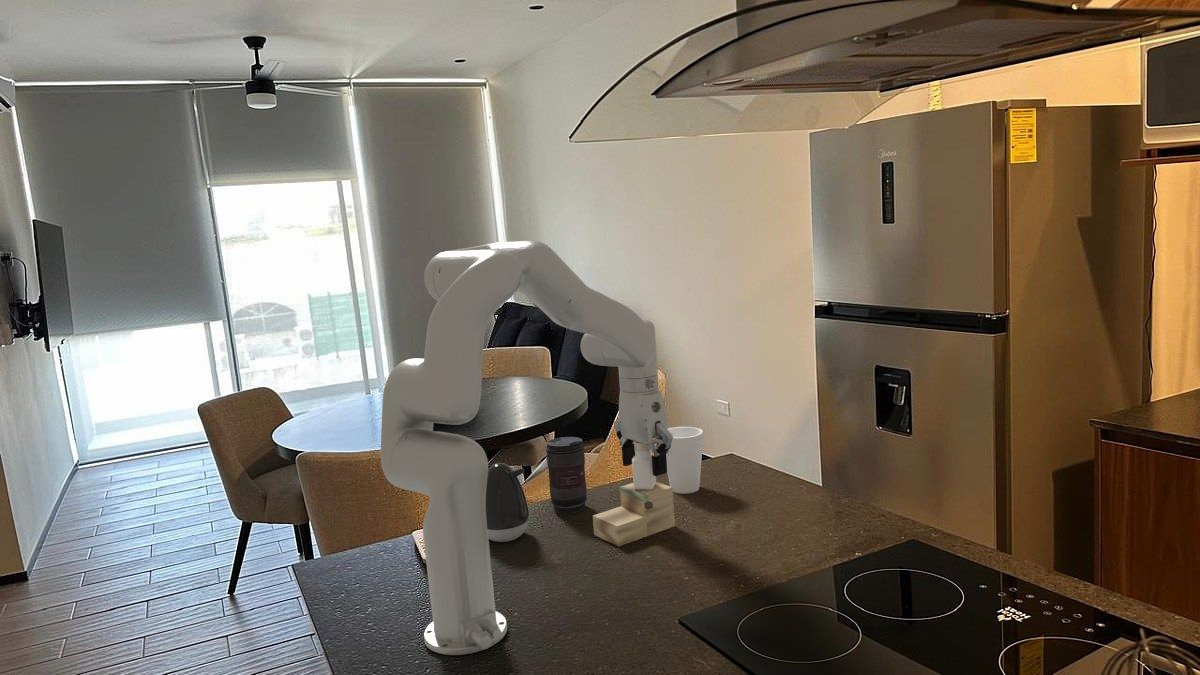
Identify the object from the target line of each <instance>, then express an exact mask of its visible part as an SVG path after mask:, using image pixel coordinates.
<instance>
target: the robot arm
mask: <svg viewBox="0 0 1200 675" xmlns="http://www.w3.org/2000/svg"><path fill="white" fill-rule="evenodd" d="M423 276H424V277H423V279H424V286H425V287H426V288H425V289H426V290H427V293H428V294H429V295H430V296H431V297H432V298H433V299H434V300H435V301H437V302H436V304H435V305H434V307H433V309H432V311H431V313H430V316H429V319H428V323H427V328H426V338H425V346H424V356H423V358H422V357H421V358H420V357H418V358H416V357H414V358H409V359H405V360H403V361H401V362H399V363H397V365H396V366H395V367H393V369H392V370H391V371H390V373H389V375H388V377H387V380H386V381H385V385H384V389H383V392H382V393H383V394H382V407H381V408H382V411H381V430H380V431H381V432H380V435H381V436H380V465H381V469H382V472H383V474H384V477H385V478H386V480H387V481H388V482H389V483H390V484H391V485H393V486H394V487H396V488H399V489H401V490H406V491H410V492H414V493H419V494H423V495H425V496H428V497H429V503H428V507H427V509H426V512H425V514H424V519H423V521H422V522H423V524H422V537H423V544H424V553H425V561H426V571H427V580H428V587H429V588H428V589H429V597H430V598H429V599H430V600H429V601H430V606H431V615H432V616H431V617H432V622H430V623H429V624H428V625H427V627H425V628H426V629H425V630H424V632H423V638H424V640H423V641H424V644H425V646H426V647H427V648H428V649H429V650H430V651H432V652H434V653H438V654H440V655H441V654H442V655H445V656H446V655H447V656H463V655H464V656H465V655H470V654H473V653H478V652H481V651H484V650H487V649H489V648H491V647H492V646H495V645H496V644H497V643H499V642H500V641H501V640H502V639H503V638H504V637H505V635H506V634H507V631H508V623H507V619H506V617H505V616H504V615H503V614H502V613H501V612H499V611H497V610H496V602H495V592H494V583H493V582H494V581H493V571H492V562H491V552H490V551H491V550H490V541H489V540H490V539H489V538H488V531H487V519H486V487H487V478H488V469H489V460H488V457H487V454H486V452H485V450H484V448H483V447H482V446H481V445H480V444H479V443H478V442H476V441H475V440H474V439H472V438H470V437H468V436H465V435H461V434H457V433H451V432H445V431H439V430H438V431H434V424H442V425H443V424H444V425H457V426H458V425H463V424H467V423H468V422H470V421H472V420H473V419H474V418H475V417H476V415H477V414H478V412H479V409H480V404H481V399H482V398H481V396H482V381H483V378H482V377H483V358H484V357H483V356H484V354H483V353H484V344H485V342H484V341H485V335H486V329H487V327H488V325H489V323H490V321H491V319H492V317H493V316H494V315H495V313H496V312H497V311H498V310H499V308H501V307H502V306H503V305H504V304H505V303H506V302H507V301H509V300H510V299H511V298H512V297H513V296H514V295H515V293H516V292H517V293H521V294H523V295H524V296H526V297H527V298H528V299H529V300H530V301H532V303H534V305H535V306H537V308H538V309H540V310H541V311H542V313H544V314H545V315H546V316H547V317H548V318H550V320H551V321H552V322H553V323H555V324H556V325H559V326H560V327H563V328H565V329H568V330H571V331H574V332H579V333H581V334H583V336H582V337H581V340H580V352H581V354H582V357H583V358H584V359H585V360H586V361H587V362H589V363H590V364H592V365H596V366H602V367H604V366H605V367H618V379H619V381H618V382H619V397H618V419H616V420H615V421H614V422H613V426H614V429H615V432H616V436H617V438H618V440H619V442H618V443H619V446H621V456H622V459H621V460H622V466H623V467H627V466H632V459H633V457H634V456H635V451H634V450H635V449H634V441H637V442H640V443H644V444H648V445H649V446H650V448H651V450H650V451H651V453H652V455H654V456H652V471H653V476H656V477H659V476H661V475H664V474H668V473H667V459H666V454H667V453H668V450H669V449H670V447H671V443H672V440H673V435H672V434H671V433H670V432H669V431H668V429H669V428H668V421H667V420H668V419H667V412H666V406H665V401H664V397H663V393H662V391H661V390H659V389H660V388H659V372H658V356H657V343H656V342H657V341H656V339H657V338H656V328H655V324H654V323H653V322H652V321H650V320H648V319H642V317H640V316H639V315H638V314H637V313H636V312H635V311H633V309H631V308H630V307H628V306H626V305H624V304H623V303H620V302H619V301H617V300H615V299H613V298H611V297H609V296H607V295H605V294H603V293H602V292H599V291H597V290H595V289H593V288H591V287H589V286H588V285H587V284H586V283H585V282H584V281H583V280H582V279H581V278H580V277H579V276H578V275H577V274H576V273H575V272H574V271H573V270H572V269H571V267H569V266H568V264H566V262H565V261H564V260H563V259H562V258H561V257H560V256H559V255H558V254H557V253H556V251H554V250H553V249H552V248H551V247H550V246H549V245H548V244H547V243H544V242H541V241H537V240H518V241H500V242H499V241H498V242H492V243H487V244H486V243H485V244H483V245H477V246H471V247H465V248H464V247H463V248H459V249H452V250H446V251H443V252H442V251H441V252H439V253H438V254H435V256H433V257H432V258H431V259H430V261H429V262H428V263H427V265H426V268H425V271H424V275H423ZM657 444H658V447H657Z"/></svg>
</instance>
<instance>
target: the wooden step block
mask: <svg viewBox="0 0 1200 675" xmlns="http://www.w3.org/2000/svg"><path fill="white" fill-rule="evenodd" d="M618 488H619V497H620V506H617V507H615V508H612V509H611V508H610V509H608V510H606V511H603V512H599V513H597V514H596V513H595V514H594V515H592V525H593V536H595V537H598V538H600V539H601V540H604V541H607V542H608V543H611V544H612V545H615V546H617V547H621V546H624V545H627V544H630V543H633V542H635V541H638V540H640V539H643V537H644V538H646V537H649V536H652V535H655V534H657V533H659V532H662V531H664V530H665V531H666V530H668V529H671V528H674V527H676V522H675V521H676V520H675V519H676V518H675V505H674V492H673V487H670V485H667V484H664V483H661V482H658V481H656V484H655V486H654V488H653V489H651V490H636V489H635V488H634V484H633V482H631V483H628V484H625V485H621V486H618Z"/></svg>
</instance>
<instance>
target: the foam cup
mask: <svg viewBox="0 0 1200 675" xmlns="http://www.w3.org/2000/svg"><path fill="white" fill-rule="evenodd" d="M668 431H669V432H670V433H671V434H672V435H673V440H672V443H671V447H670V449H669V450H668V453H667V454H666V459H667V473H666V474H667V477H668V482H669V486H670V487H673V493H675V494H680V495H681V494H693V493H695V492H698V491H699V490H700V484H701V470H702V455H703V446H704V445H703V444H704V440H705V438H704V431H703V429H702V428H699V427H694V426H676V427H669V428H668Z"/></svg>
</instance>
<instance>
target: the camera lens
mask: <svg viewBox="0 0 1200 675" xmlns="http://www.w3.org/2000/svg"><path fill="white" fill-rule="evenodd" d="M583 442H584V441H583V438H580V437H576V436H562V437H557V438H552V439H549V440H548V441H547V442H546V446H545V451H546V464H547V468H548V479H549V480H548V481H549V485H548V486H549V495H550V501H551V504H552V505H553V510H554V512H555V513H557V514H563V515H568V514H569V515H570V514H576V513H579V512H581V511H584V509H585V508H586V501H587V498H588V497H587V493H588V491H587V481H586V471H585V468H586V467H585V466H586V465H585V464H586V462H585V461H586V457H585V456H586V455H585V446H584V443H583Z"/></svg>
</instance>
